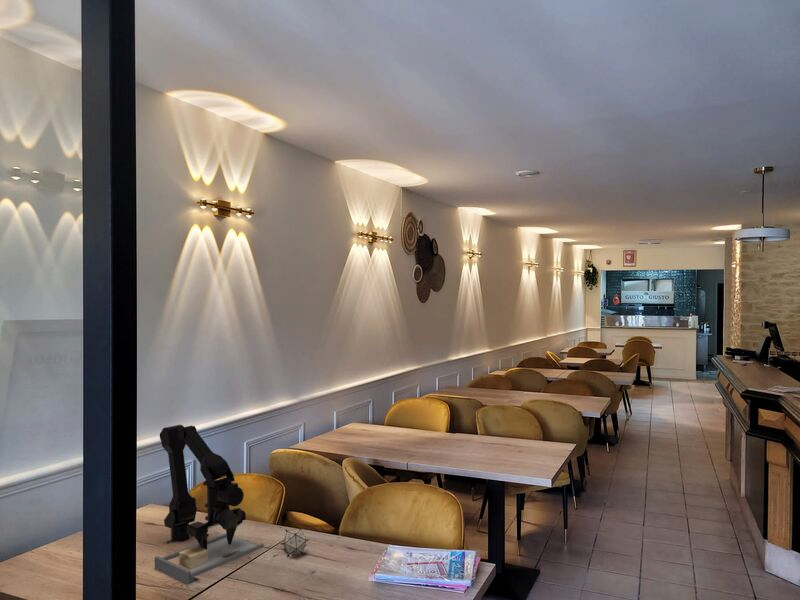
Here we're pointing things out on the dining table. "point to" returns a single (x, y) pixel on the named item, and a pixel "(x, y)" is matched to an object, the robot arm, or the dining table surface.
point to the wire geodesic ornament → (294, 541)
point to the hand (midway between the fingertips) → (217, 549)
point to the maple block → (193, 557)
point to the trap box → (215, 558)
